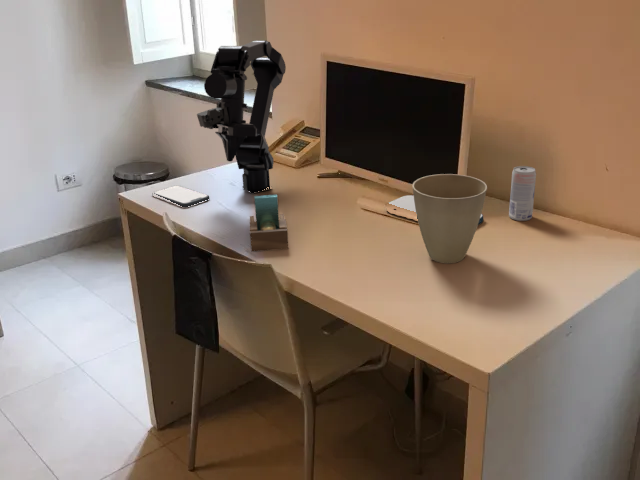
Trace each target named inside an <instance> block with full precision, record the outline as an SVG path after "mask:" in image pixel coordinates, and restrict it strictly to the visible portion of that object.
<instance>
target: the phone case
mask: <svg viewBox="0 0 640 480" xmlns="http://www.w3.org/2000/svg"><path fill="white" fill-rule="evenodd" d="M166 188H167V189H165V188H162V189H163V190H162V189H159V190H156V192H155V191H153V192H154V194H156V195H158V196H160V197H163V198H165V199H167V200H170V201H171V202H173V203H176V204H178V205H180V206H182V207H188V206H191V205H194V204H197V203H199V202H202V201H205V200H208V199H209V200H210V196H209V194H206V193H204V192H203V193H202V192H200V191H195V190H194V189H193V190H192V189H191V188H190V189H189V188H187V187H184V186H181V185H173V187H172V186H170V187H169V186H168V187H166ZM164 189H165V190H164ZM182 207H181V208H182ZM188 208H189V207H188Z"/></svg>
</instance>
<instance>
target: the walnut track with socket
mask: <svg viewBox="0 0 640 480" xmlns="http://www.w3.org/2000/svg"><path fill="white" fill-rule="evenodd" d="M286 220H287V219H286V218H285V214H284V213H279V229H276V230H263V231H257V221H256V220H255V216H254V215H250V216H249V239H250V249H251V250H250V251H251V252H263V251H265V252H266V251H275V250H288V249H289V237H288V235H289V233H288V227H287V221H286Z"/></svg>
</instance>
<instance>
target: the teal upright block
mask: <svg viewBox="0 0 640 480" xmlns="http://www.w3.org/2000/svg"><path fill="white" fill-rule="evenodd" d="M253 198H254V210H255V221H257V231H263V230H276V229H279V220H280V213H279V204H278V203H279V202H278V201H279V199H278V194H268V195H267V194H266V195H264V194H263V195H254V196H253Z"/></svg>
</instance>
